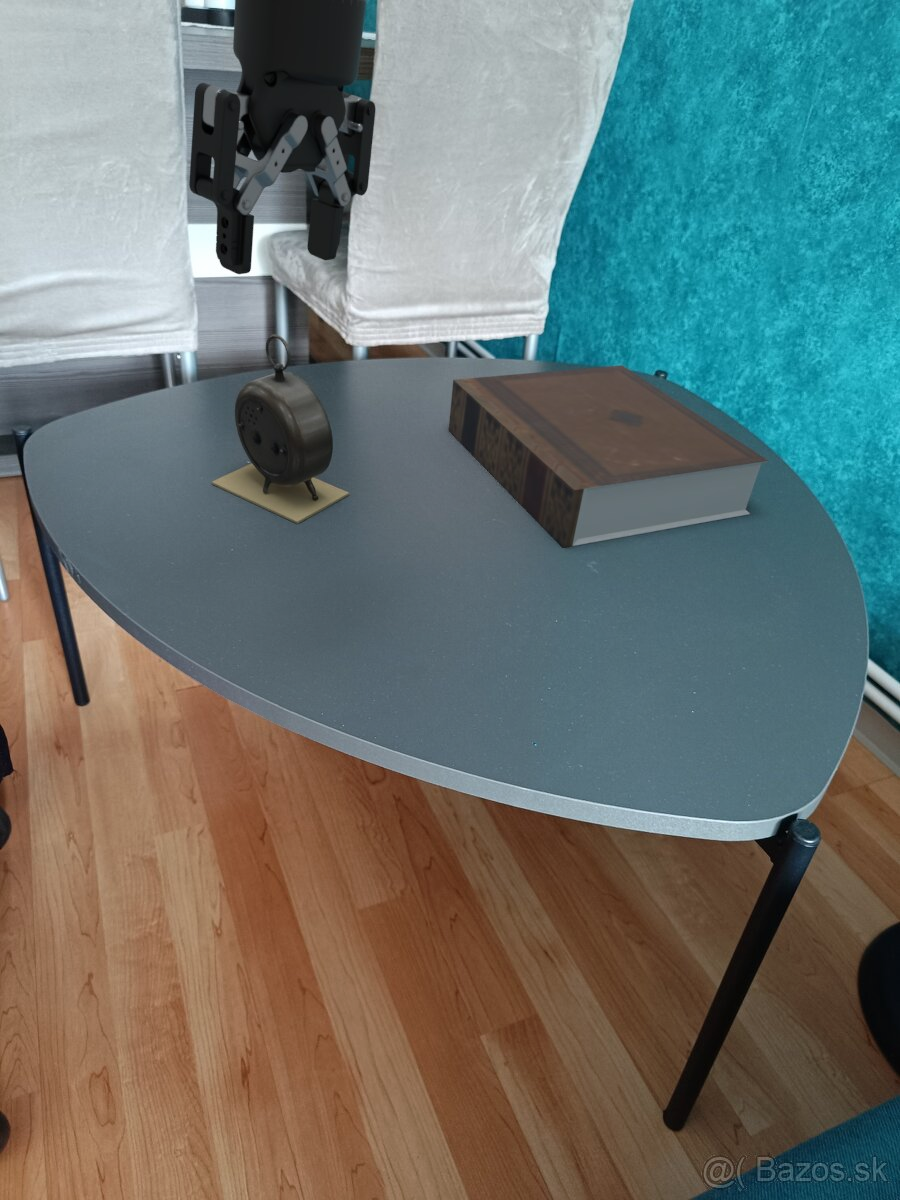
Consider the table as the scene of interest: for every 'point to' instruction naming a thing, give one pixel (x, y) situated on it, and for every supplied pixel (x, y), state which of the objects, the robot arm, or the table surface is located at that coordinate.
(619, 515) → the book
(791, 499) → the table surface
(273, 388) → the alarm clock
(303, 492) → the mat
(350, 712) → the table surface
